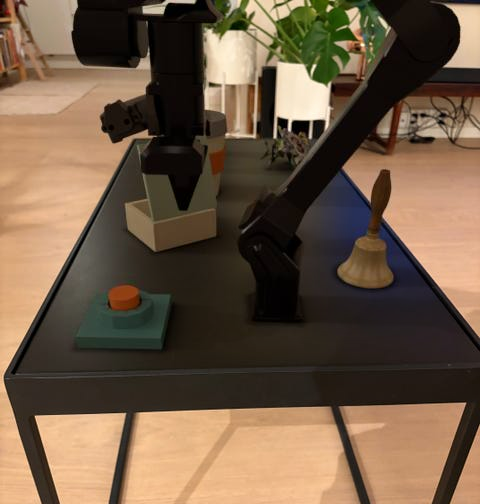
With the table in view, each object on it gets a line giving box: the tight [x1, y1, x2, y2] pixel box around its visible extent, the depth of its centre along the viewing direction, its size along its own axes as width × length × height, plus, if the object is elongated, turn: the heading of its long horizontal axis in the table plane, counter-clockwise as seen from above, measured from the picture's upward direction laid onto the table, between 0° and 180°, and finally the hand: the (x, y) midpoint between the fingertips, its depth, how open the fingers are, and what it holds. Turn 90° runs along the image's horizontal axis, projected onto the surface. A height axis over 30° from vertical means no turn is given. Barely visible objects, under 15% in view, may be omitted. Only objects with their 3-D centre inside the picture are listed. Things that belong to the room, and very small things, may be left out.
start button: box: [108, 284, 140, 311], centre depth 63 cm, size 4×4×2 cm
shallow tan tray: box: [124, 198, 217, 253], centre depth 88 cm, size 11×12×5 cm
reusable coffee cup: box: [204, 109, 228, 197], centre depth 102 cm, size 13×13×15 cm
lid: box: [136, 135, 218, 222], centre depth 79 cm, size 11×12×5 cm
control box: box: [75, 289, 173, 350], centre depth 64 cm, size 10×10×4 cm
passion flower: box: [260, 125, 312, 170], centre depth 117 cm, size 11×11×12 cm
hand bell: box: [337, 168, 394, 290], centre depth 73 cm, size 8×8×16 cm
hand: (183, 209), depth 64 cm, fingers closed
